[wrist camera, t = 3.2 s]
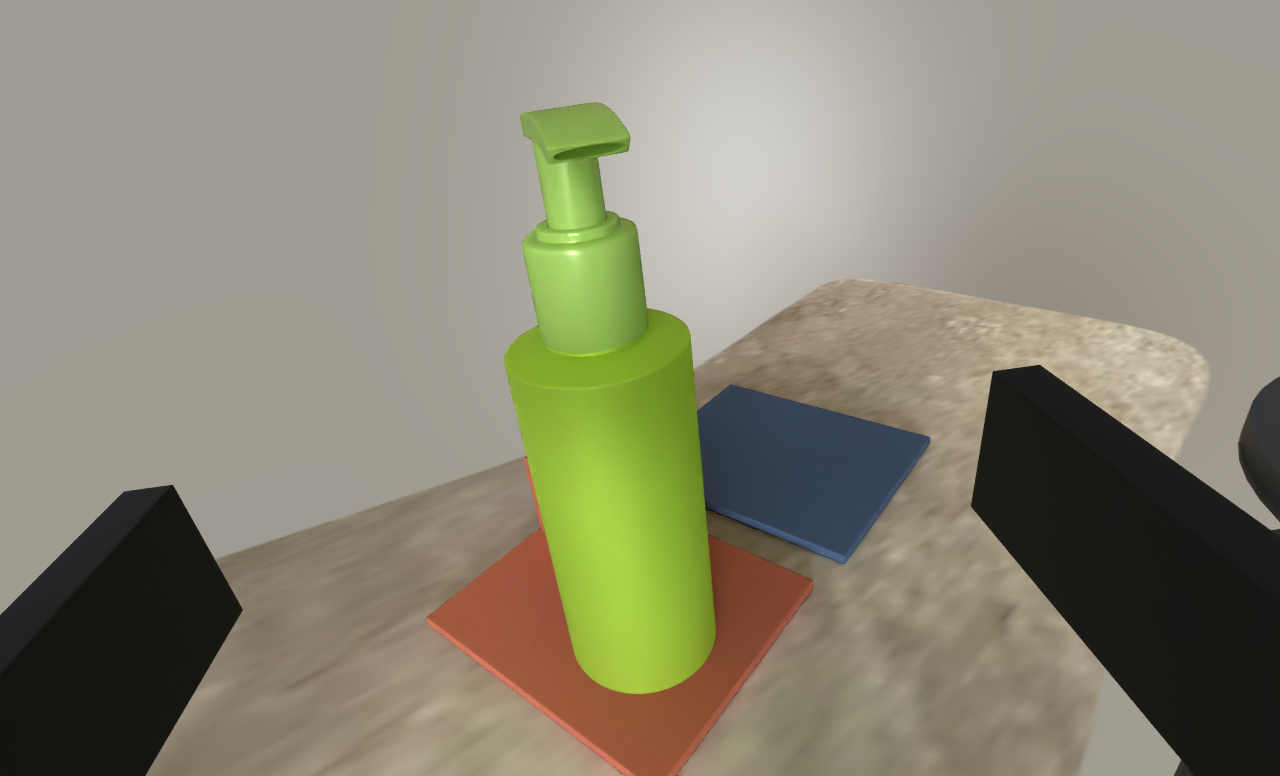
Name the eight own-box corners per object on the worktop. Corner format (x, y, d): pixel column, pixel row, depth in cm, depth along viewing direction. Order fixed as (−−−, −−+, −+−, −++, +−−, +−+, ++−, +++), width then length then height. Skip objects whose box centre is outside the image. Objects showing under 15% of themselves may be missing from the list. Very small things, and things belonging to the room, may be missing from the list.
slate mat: (929, 444, 37) (930, 436, 36) (844, 564, 30) (844, 556, 29) (730, 390, 44) (730, 384, 44) (625, 475, 37) (624, 468, 37)
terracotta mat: (813, 588, 29) (813, 580, 28) (658, 801, 21) (656, 792, 21) (595, 492, 36) (594, 484, 36) (428, 625, 29) (425, 617, 29)
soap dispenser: (593, 740, 23) (447, 139, 13) (562, 599, 29) (445, 113, 19) (749, 689, 24) (716, 97, 14) (688, 563, 30) (636, 84, 20)
